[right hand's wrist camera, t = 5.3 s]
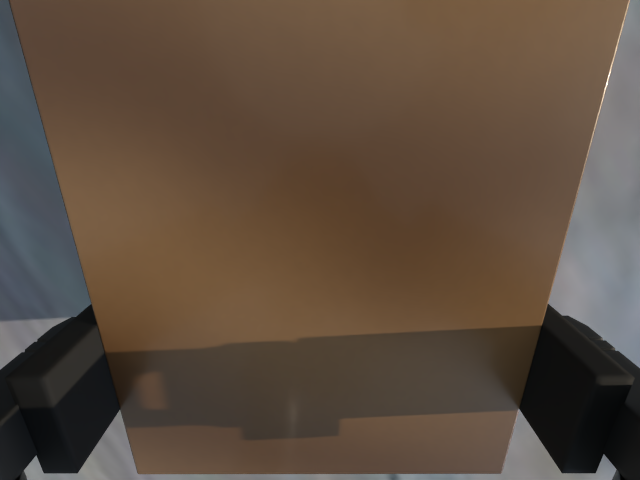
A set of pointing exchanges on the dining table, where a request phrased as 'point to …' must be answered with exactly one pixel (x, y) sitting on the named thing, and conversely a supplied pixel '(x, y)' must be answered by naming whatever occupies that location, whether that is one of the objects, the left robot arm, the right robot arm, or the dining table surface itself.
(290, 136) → the cabinet
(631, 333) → the dining table surface
